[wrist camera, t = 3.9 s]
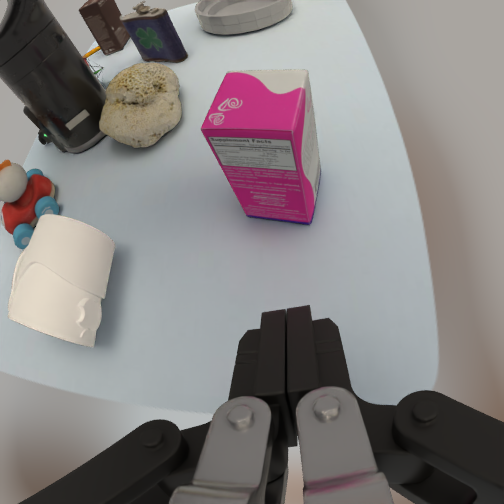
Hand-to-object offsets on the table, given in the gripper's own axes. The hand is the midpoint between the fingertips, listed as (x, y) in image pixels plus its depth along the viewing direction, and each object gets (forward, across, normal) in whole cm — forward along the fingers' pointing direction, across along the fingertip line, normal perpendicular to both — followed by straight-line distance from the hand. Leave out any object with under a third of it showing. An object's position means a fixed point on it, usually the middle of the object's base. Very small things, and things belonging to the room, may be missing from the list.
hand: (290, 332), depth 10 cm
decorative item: (+30, +14, -11) cm, 35 cm away
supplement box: (+20, 0, 0) cm, 20 cm away
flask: (+41, +14, -21) cm, 48 cm away
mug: (+15, +21, +4) cm, 26 cm away
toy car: (+24, +31, -4) cm, 39 cm away
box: (+50, +25, -30) cm, 63 cm away
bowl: (+46, 0, -26) cm, 53 cm away
